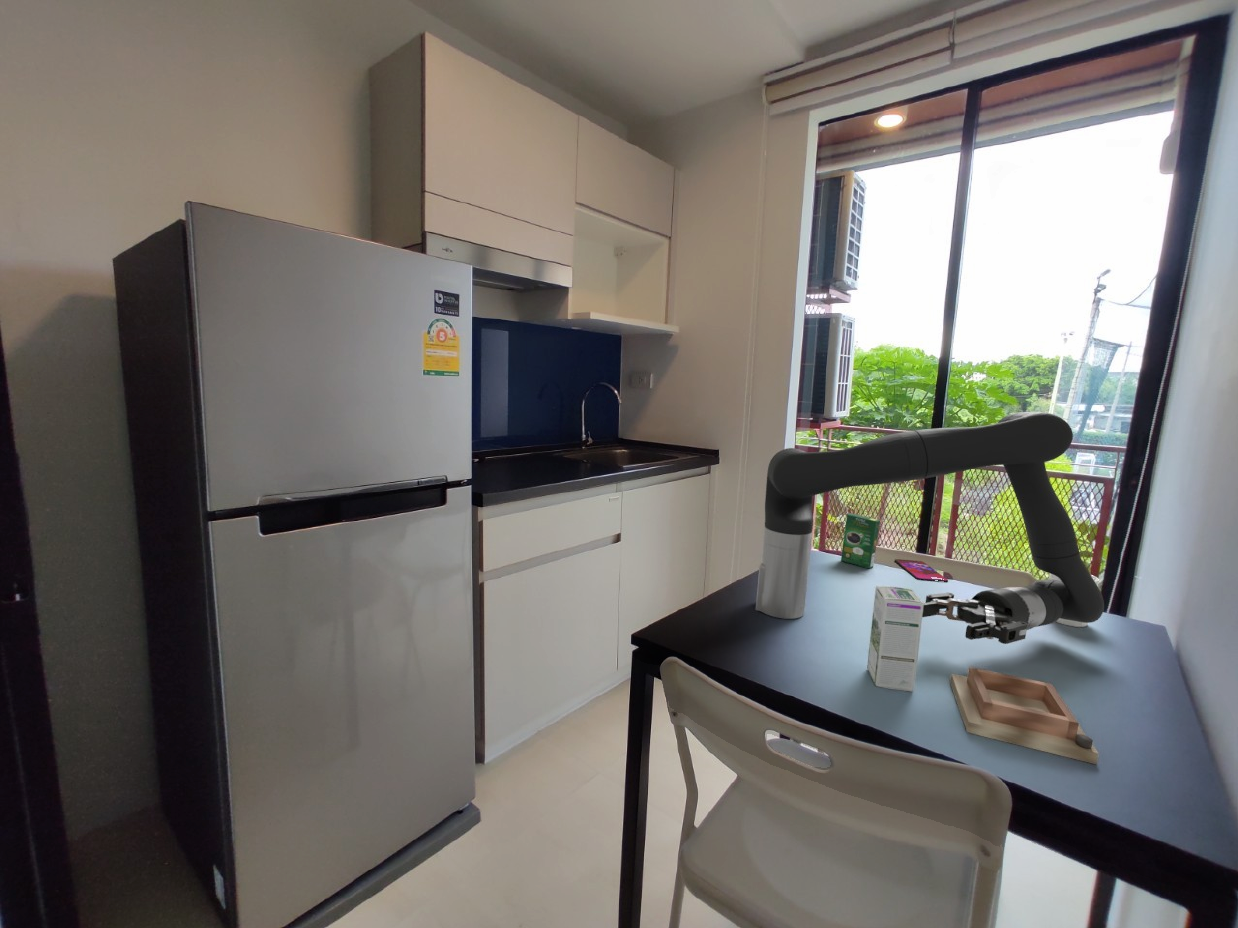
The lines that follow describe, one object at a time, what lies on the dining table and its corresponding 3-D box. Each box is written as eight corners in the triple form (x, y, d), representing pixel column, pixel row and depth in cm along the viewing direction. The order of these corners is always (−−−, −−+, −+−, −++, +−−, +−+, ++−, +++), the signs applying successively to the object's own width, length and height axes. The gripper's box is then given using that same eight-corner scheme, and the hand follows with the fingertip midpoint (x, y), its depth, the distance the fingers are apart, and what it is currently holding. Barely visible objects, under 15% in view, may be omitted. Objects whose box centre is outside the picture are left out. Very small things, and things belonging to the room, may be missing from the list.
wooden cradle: (967, 732, 73) (971, 704, 73) (949, 682, 86) (953, 658, 86) (1096, 764, 68) (1102, 735, 68) (1058, 705, 81) (1062, 681, 80)
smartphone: (917, 578, 134) (893, 558, 149) (916, 581, 134) (893, 561, 149) (949, 580, 133) (922, 560, 148) (949, 584, 133) (922, 564, 148)
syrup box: (914, 692, 83) (927, 602, 81) (873, 686, 84) (884, 597, 82) (903, 673, 88) (914, 588, 86) (864, 668, 89) (874, 584, 87)
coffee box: (875, 567, 142) (881, 518, 140) (870, 569, 140) (876, 520, 138) (844, 559, 148) (850, 512, 146) (840, 561, 146) (845, 513, 144)
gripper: (971, 575, 101) (908, 583, 95) (1056, 605, 88) (989, 617, 82) (965, 613, 102) (903, 624, 96) (1049, 649, 89) (982, 663, 83)
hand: (943, 621), depth 89 cm, fingers open, 8 cm apart
